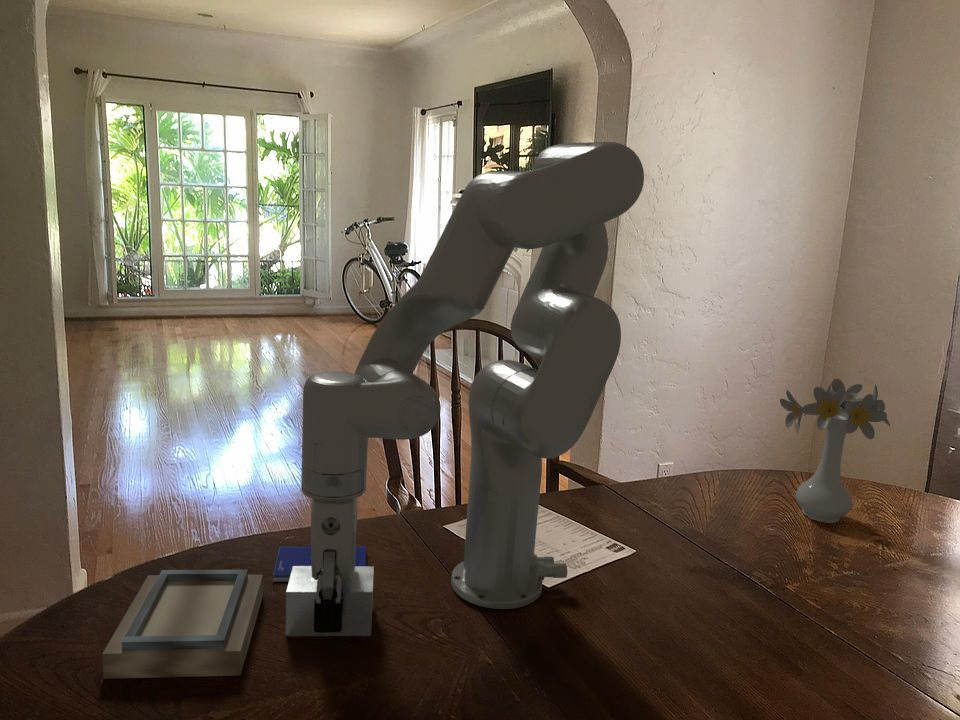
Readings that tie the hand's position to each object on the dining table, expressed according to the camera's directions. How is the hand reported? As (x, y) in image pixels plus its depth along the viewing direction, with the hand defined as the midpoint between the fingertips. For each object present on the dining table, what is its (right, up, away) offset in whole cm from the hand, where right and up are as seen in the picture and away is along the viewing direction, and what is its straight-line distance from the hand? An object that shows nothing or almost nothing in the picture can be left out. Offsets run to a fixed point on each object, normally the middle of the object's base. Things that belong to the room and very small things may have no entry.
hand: (330, 607), depth 90 cm
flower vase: (+79, +2, +42) cm, 89 cm away
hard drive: (-4, +1, +14) cm, 14 cm away
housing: (0, -2, +1) cm, 2 cm away
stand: (-16, -2, -4) cm, 16 cm away
